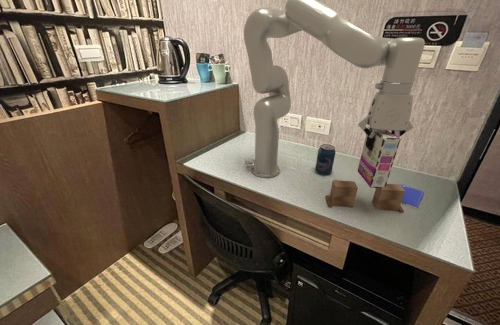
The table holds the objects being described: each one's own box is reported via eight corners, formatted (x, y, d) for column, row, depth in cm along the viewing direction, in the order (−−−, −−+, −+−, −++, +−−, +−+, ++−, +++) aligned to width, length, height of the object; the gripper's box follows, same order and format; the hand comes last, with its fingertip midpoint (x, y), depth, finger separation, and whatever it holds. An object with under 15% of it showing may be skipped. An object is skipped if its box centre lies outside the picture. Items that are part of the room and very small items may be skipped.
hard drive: (400, 183, 94) (391, 197, 86) (424, 191, 89) (418, 206, 81) (398, 187, 95) (390, 200, 86) (423, 195, 90) (416, 210, 81)
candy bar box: (386, 188, 73) (402, 138, 66) (370, 188, 73) (383, 138, 66) (371, 171, 83) (383, 126, 76) (356, 170, 83) (367, 125, 76)
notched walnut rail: (328, 207, 82) (332, 187, 78) (325, 197, 87) (328, 178, 83) (403, 213, 79) (410, 193, 76) (395, 202, 85) (402, 183, 81)
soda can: (313, 174, 102) (317, 148, 97) (316, 167, 108) (320, 142, 102) (330, 177, 99) (335, 151, 94) (332, 170, 105) (337, 145, 100)
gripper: (367, 90, 63) (353, 152, 71) (436, 91, 61) (414, 155, 69) (358, 85, 69) (347, 143, 77) (421, 86, 68) (402, 145, 76)
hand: (378, 148), depth 73 cm, fingers closed on candy bar box, 5 cm apart
